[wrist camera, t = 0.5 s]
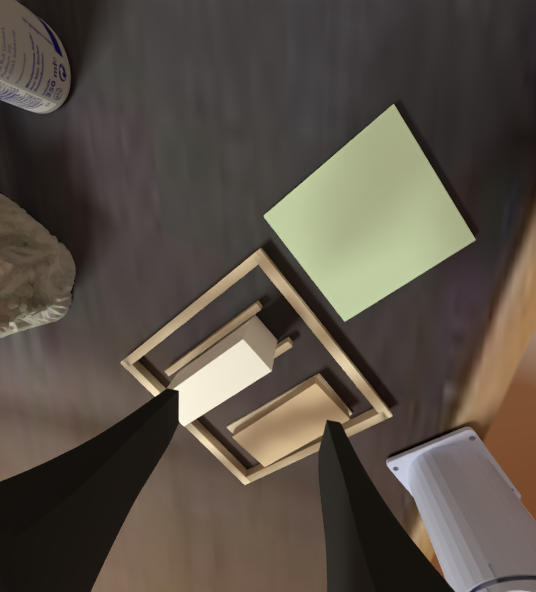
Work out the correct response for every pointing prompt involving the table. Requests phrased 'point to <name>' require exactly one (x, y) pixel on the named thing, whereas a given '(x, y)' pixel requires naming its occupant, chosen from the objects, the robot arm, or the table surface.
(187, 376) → the tall cream block
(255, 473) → the rack
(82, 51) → the table surface
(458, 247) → the mat
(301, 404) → the offcut upper
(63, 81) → the energy drink
